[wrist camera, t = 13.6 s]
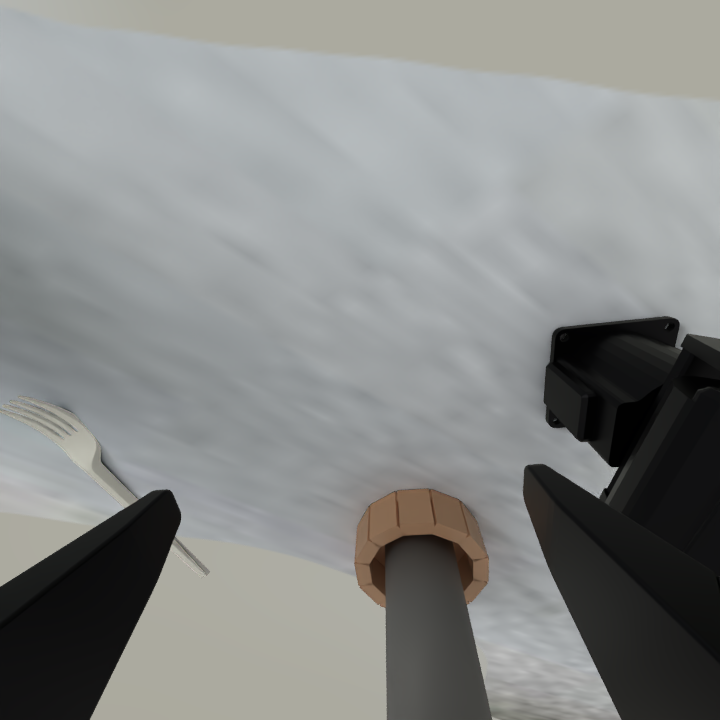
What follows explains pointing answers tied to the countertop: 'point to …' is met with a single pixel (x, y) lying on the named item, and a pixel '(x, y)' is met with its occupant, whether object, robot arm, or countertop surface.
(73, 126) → the countertop surface
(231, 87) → the countertop surface
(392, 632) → the pepper mill
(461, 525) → the terracotta bowl
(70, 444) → the off-white fork
